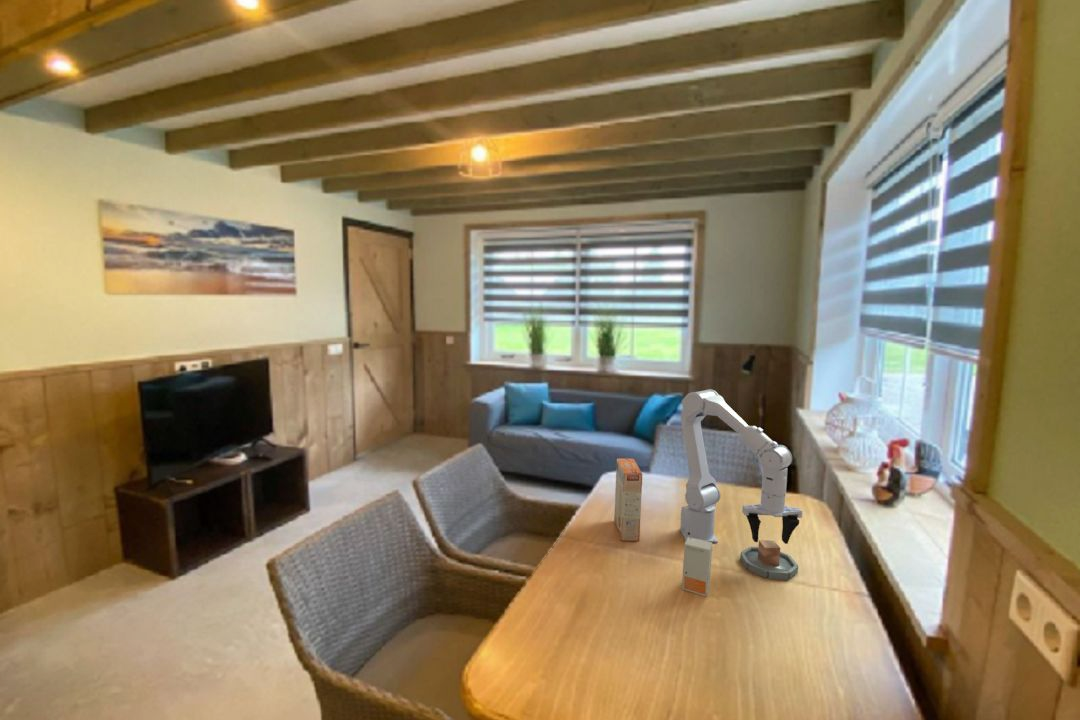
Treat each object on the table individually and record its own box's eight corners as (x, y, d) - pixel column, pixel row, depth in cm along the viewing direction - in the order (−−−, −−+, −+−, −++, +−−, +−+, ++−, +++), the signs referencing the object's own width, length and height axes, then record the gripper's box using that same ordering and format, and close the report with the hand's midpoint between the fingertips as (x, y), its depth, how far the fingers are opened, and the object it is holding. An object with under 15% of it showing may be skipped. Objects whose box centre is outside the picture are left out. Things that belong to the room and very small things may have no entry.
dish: (751, 577, 121) (752, 571, 121) (735, 551, 134) (735, 545, 134) (804, 580, 120) (805, 574, 120) (783, 554, 133) (783, 548, 133)
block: (763, 565, 125) (764, 547, 125) (757, 557, 129) (758, 539, 129) (779, 566, 125) (780, 548, 124) (772, 558, 129) (774, 540, 128)
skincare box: (681, 590, 116) (683, 543, 114) (684, 581, 119) (687, 536, 118) (707, 597, 113) (710, 549, 111) (710, 588, 117) (712, 542, 115)
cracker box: (640, 542, 139) (643, 473, 137) (620, 541, 139) (622, 472, 137) (632, 520, 153) (634, 457, 151) (613, 520, 153) (615, 457, 151)
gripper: (750, 496, 121) (746, 547, 123) (809, 499, 120) (805, 550, 122) (741, 486, 128) (737, 534, 130) (796, 488, 127) (793, 537, 129)
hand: (769, 541), depth 126 cm, fingers open, 7 cm apart
